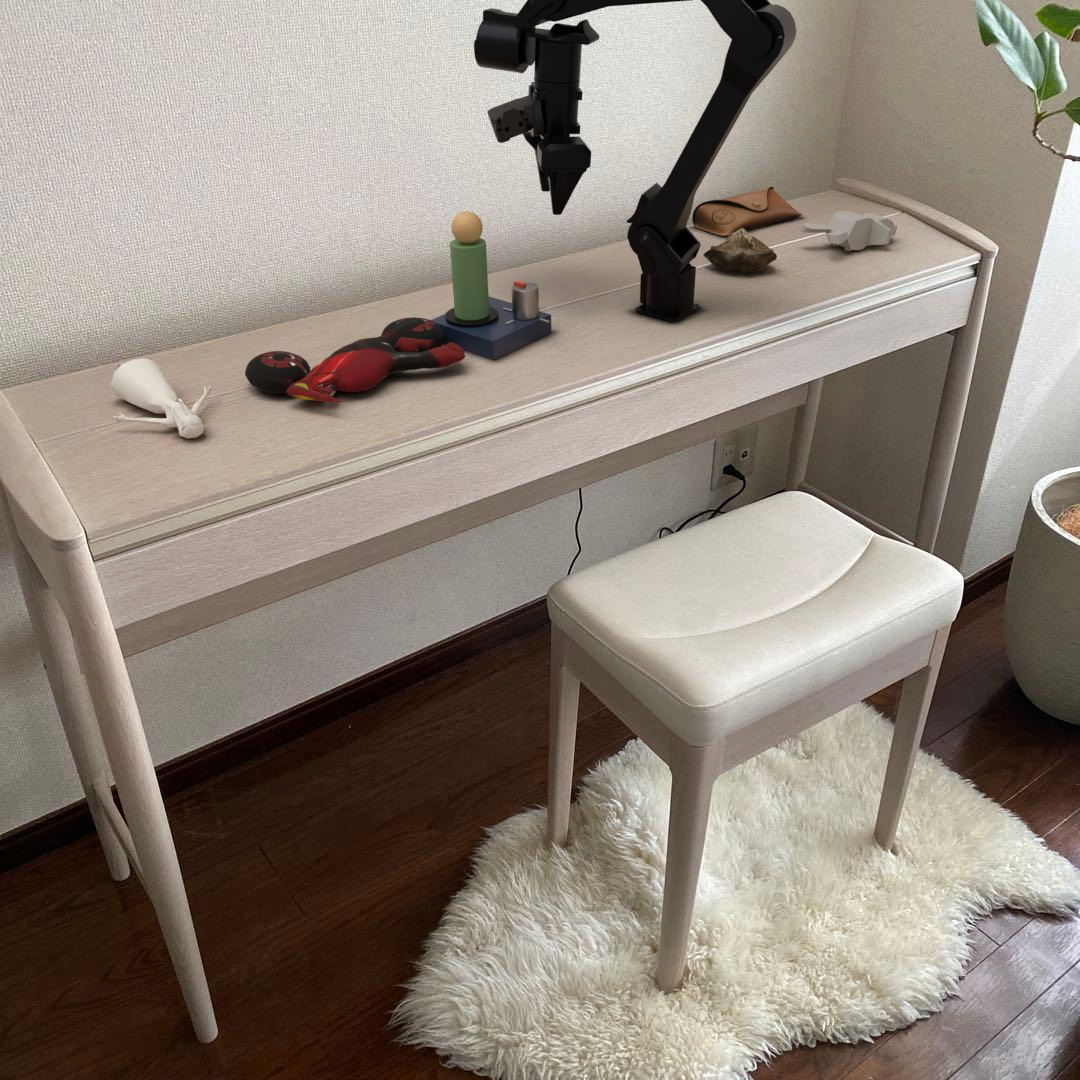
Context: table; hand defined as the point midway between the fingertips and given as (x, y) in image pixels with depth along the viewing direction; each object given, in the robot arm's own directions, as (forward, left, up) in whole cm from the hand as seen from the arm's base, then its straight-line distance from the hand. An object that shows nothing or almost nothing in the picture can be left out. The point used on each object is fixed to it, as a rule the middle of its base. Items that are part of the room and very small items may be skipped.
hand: (551, 202), depth 141 cm
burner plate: (-2, +18, -10) cm, 21 cm away
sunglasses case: (-4, -45, -13) cm, 47 cm away
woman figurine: (+11, +56, -13) cm, 58 cm away
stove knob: (-7, +13, -10) cm, 18 cm away
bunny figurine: (-23, -43, -13) cm, 51 cm away
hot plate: (-4, +16, -13) cm, 21 cm away
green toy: (-2, +18, -10) cm, 20 cm away
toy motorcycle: (0, +36, -13) cm, 38 cm away
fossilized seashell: (-15, -24, -13) cm, 32 cm away
